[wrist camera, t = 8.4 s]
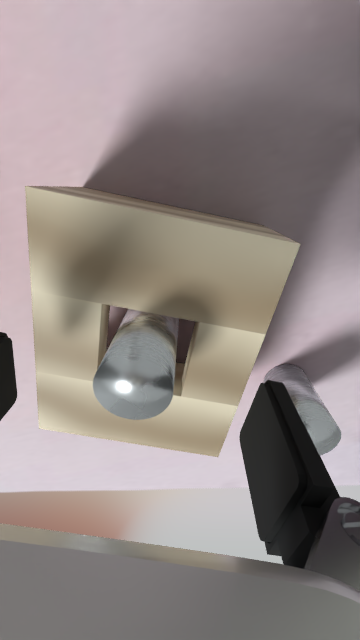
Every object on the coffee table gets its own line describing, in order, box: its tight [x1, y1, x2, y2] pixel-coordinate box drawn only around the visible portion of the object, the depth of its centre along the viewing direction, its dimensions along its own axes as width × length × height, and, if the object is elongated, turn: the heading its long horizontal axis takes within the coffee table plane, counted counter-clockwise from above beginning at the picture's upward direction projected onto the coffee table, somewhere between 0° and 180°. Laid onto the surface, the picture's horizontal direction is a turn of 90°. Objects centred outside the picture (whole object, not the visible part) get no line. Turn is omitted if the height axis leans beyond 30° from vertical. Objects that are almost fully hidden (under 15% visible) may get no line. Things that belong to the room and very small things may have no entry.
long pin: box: [93, 309, 179, 420], centre depth 14 cm, size 3×3×8 cm
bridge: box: [25, 186, 300, 457], centre depth 15 cm, size 12×10×6 cm
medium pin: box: [264, 364, 341, 455], centre depth 17 cm, size 3×3×5 cm
